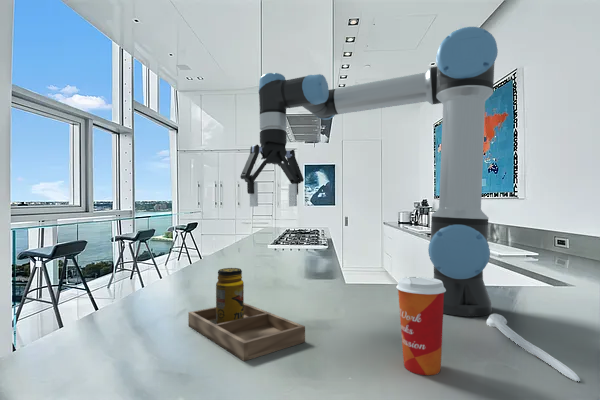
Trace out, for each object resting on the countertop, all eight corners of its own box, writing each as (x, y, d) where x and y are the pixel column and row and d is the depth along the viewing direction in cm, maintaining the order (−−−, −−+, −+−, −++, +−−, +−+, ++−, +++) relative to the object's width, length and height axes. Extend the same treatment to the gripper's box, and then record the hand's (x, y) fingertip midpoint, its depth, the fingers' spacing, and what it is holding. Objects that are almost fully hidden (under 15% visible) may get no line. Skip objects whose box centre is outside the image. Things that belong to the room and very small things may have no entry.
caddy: (305, 341, 68) (305, 326, 68) (243, 361, 60) (243, 343, 60) (241, 314, 87) (241, 302, 87) (188, 325, 79) (188, 312, 79)
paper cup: (390, 358, 60) (389, 276, 61) (433, 356, 61) (432, 275, 61) (408, 380, 52) (406, 286, 53) (457, 377, 53) (455, 284, 54)
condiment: (250, 325, 77) (250, 270, 77) (212, 332, 72) (212, 274, 73) (237, 316, 83) (237, 265, 83) (201, 323, 78) (201, 269, 79)
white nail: (600, 386, 51) (600, 366, 51) (571, 385, 51) (570, 366, 52) (502, 324, 79) (502, 311, 79) (483, 324, 79) (483, 311, 79)
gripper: (297, 138, 110) (299, 206, 109) (226, 126, 93) (227, 206, 92) (314, 134, 104) (316, 205, 103) (242, 120, 88) (243, 206, 87)
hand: (274, 206), depth 98 cm, fingers open, 13 cm apart
